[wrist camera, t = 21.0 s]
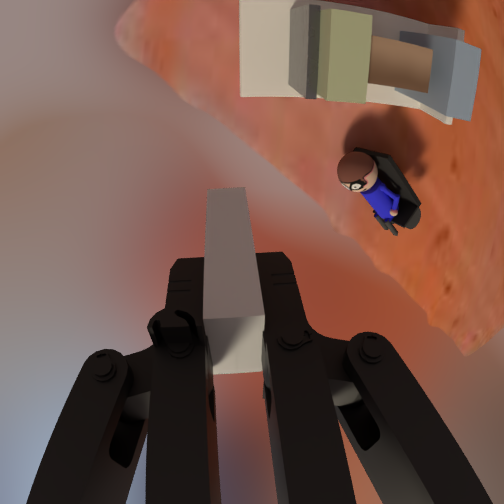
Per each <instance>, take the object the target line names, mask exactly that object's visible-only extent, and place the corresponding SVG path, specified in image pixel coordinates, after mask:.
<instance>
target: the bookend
mask: <svg viewBox="0 0 504 504" xmlns="http://www.w3.org/2000/svg"><path fill="white" fill-rule="evenodd" d="M320 10H321V5H313V4H308V5H304V6H301V7H297V8H294V9H291V10H290V42H289V79H288V85H290V86H291V87H292V88H293V89H295V90H296V91H297V92H298V93H299V94H301V95H302V96H303V97H304V98H305V99H316V98H317V82H318V63H319V41H320Z"/></svg>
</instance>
